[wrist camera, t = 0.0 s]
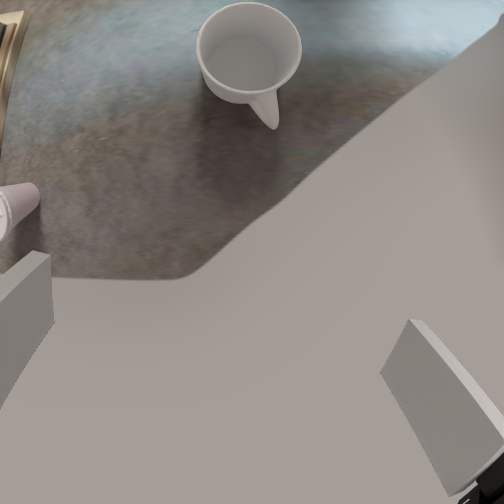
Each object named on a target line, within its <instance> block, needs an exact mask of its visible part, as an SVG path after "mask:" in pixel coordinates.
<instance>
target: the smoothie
mask: <svg viewBox="0 0 504 504" xmlns="http://www.w3.org/2000/svg"><path fill="white" fill-rule="evenodd" d="M39 202H40V193H39V190H38V188H37V187H36V186H35V185H34V184H33V183H22V184H15V185H9V186H2V187H0V242H1V241H3V240H4V239H5V238H6V237H7V236H8V234H9V232H10V230H11V229H12V228H13V227H14V226H16V225H17V224H18V223H19V222H20V221H21V220H22V219H23V218H25V217H26V216H27V215H28V214H29V213H30V212H32V211H33V210H34V209H35V208H36V207H37V206H38V204H39Z"/></svg>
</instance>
